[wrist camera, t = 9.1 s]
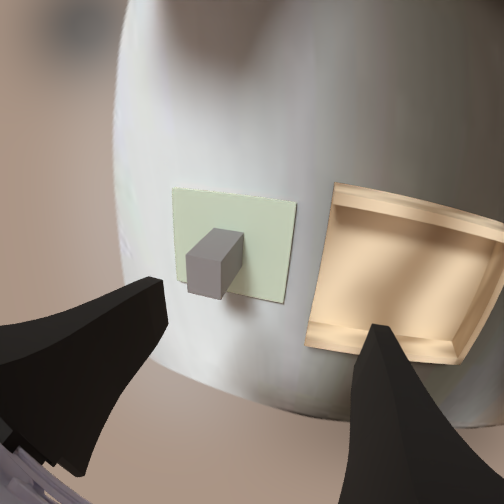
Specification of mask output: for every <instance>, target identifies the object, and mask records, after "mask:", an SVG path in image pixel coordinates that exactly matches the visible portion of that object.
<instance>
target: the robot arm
mask: <svg viewBox="0 0 504 504" xmlns="http://www.w3.org/2000/svg"><path fill="white" fill-rule="evenodd" d="M168 324H169V323H168V316H167V309H166V302H165V294H164V286H163V280H161V279H157V278H153V277H146V278H143V279H140V280H138V281H135V282H133V283H130V284H128V285H126V286H124V287H122V288H119V289H117V290H115V291H113V292H110V293H108V294H106V295H103V296H101V297H99V298H97V299H94V300H92V301H89V302H87V303H84V304H82V305H79V306H77V307H74V308H72V309H69V310H66V311H64V312H61V313H57V314H54V315H51V316H48V317H44V318H40V319H36V320H31V321H27V322H22V323H17V324H10V325H2V326H0V504H58V503H57V502H55V501H54V500H52V499H51V498H49V497H47V496H46V495H45V494H44V490H45V491H46V492H48V493H49V494H50V495H51V496H52V497H54V498H55V499H56V500H57V501H58V502H60V503H61V504H92V503H90V502H89V501H88V500H86V499H85V498H83V497H82V496H80V495H79V494H77V493H76V492H74V491H73V490H72V489H70V488H69V487H68V486H66V485H65V484H64V483H62V482H61V481H60V480H59V479H57V478H56V477H55V476H53V475H52V474H51V473H50V472H49V471H48V470H46V469H45V468H44V467H43V466H42V465H43V463H44V462H45V461H46V462H48V463H49V464H50V465H51V466H52V467H54V466H55V465H56V464H57V463H58V464H59V465H60V466H62V467H63V468H64V469H66V470H67V471H69V472H70V473H71V474H72V475H74V476H75V477H82V476H85V473H86V470H87V467H88V463H89V461H90V458H91V455H92V452H93V450H94V447H95V445H96V442H97V440H98V437H99V435H100V433H101V431H102V429H103V427H104V425H105V423H106V421H107V419H108V417H109V415H110V413H111V410H112V409H113V407H114V406H115V404H116V402H117V400H118V398H119V396H120V395H121V394H122V392H123V390H124V389H125V388H126V386H127V385H128V383H129V382H130V381H131V379H132V378H133V377H134V375H135V374H136V373H137V371H138V370H139V369H140V367H141V366H142V365H143V363H144V362H145V361H146V359H147V358H148V357H149V355H150V354H151V353H152V351H153V350H154V349H155V347H156V346H157V344H158V342H159V341H160V339H161V337H162V335H163V334H164V332H165V330H166V328H167V326H168ZM338 504H504V478H502V477H501V476H500V475H499V474H497V473H496V472H495V471H494V470H493V469H492V468H490V467H489V466H488V465H487V464H486V463H485V462H484V461H483V460H482V459H481V458H480V457H479V456H478V455H477V454H476V453H475V452H474V451H473V450H472V449H471V448H470V447H469V445H468V444H467V443H466V442H465V441H464V440H463V439H462V437H461V436H460V435H459V434H458V433H457V432H456V430H455V429H454V428H453V427H452V425H451V424H450V423H449V421H448V420H447V419H446V417H445V416H444V415H443V413H442V412H441V411H440V409H439V408H438V406H437V405H436V404H435V402H434V401H433V399H432V398H431V396H430V394H429V393H428V391H427V390H426V388H425V387H424V385H423V384H422V382H421V380H420V379H419V377H418V375H417V374H416V372H415V370H414V369H413V367H412V365H411V363H410V362H409V360H408V358H407V356H406V355H405V353H404V351H403V349H402V347H401V346H400V344H399V342H398V340H397V339H396V337H395V335H394V333H393V332H392V330H391V328H390V327H389V326H385V325H379V324H373V323H372V324H371V327H370V329H369V332H368V334H367V337H366V339H365V342H364V344H363V347H362V349H361V352H360V354H359V356H358V359H357V361H356V363H355V365H354V372H353V380H352V388H351V415H350V443H349V455H348V463H347V468H346V473H345V478H344V482H343V487H342V491H341V495H340V498H339V502H338Z"/></svg>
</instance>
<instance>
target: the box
mask: <svg viewBox="0 0 504 504" xmlns="http://www.w3.org/2000/svg"><path fill="white" fill-rule="evenodd" d="M503 285H504V223H501V222H498V221H495V220H492V219H489V218H486V217H482V216H479V215H476V214H472V213H469V212H465V211H462V210H458V209H455V208H451V207H447V206H443V205H440V204H436V203H432V202H428V201H424V200H420V199H415V198H411V197H407V196H402V195H398V194H393V193H389V192H384V191H379V190H374V189H369V188H364V187H359V186H353V185H348V184H342V183H337V182H334V189H333V196H332V202H331V209H330V215H329V221H328V227H327V233H326V238H325V244H324V249H323V255H322V260H321V265H320V270H319V275H318V280H317V285H316V290H315V294H314V299H313V304H312V308H311V313H310V317H309V321H308V327H307V332H306V338H305V343H304V346H309V347H315V348H320V349H326V350H332V351H338V352H345V353H351V354H358V355H359V354H360V352H361V349H362V347H363V344H364V342H365V339H366V337H367V334H368V332H369V329H370V327H371V324H372V323H373V324H379V325H385V326H389V327H390V328H391V330H392V332H393V333H394V335H395V337H396V339H397V340H398V342H399V344H400V346H401V347H402V349H403V351H404V353H405V355H406V356H407V358H408V360H409V361H416V362H427V363H439V364H454V365H460V364H461V362H462V361H463V359H464V358H465V356H466V355H467V353H468V351H469V350H470V348H471V347H472V345H473V343H474V342H475V340H476V338H477V336H478V335H479V333H480V331H481V329H482V328H483V326H484V324H485V322H486V320H487V318H488V316H489V314H490V313H491V311H492V309H493V307H494V305H495V302H496V300H497V298H498V296H499V294H500V292H501V290H502V287H503Z"/></svg>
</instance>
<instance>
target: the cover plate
mask: <svg viewBox="0 0 504 504" xmlns="http://www.w3.org/2000/svg"><path fill="white" fill-rule="evenodd" d="M172 205H173V228H174V246H175V261H176V274H177V280H178V281H182V282H186V283H187V289H188V292H189V293H193V294H197V295H201V296H205V297H209V298H214V299H218V300H221V299H222V297H223V296H224V294H225V292H231V293H235V294H240V295H245V296H249V297H254V298H259V299H264V300H269V301H274V302H279V303H283V301H284V295H285V289H286V282H287V275H288V268H289V260H290V253H291V245H292V237H293V230H294V222H295V213H296V205H297V202H291V201H285V200H278V199H271V198H264V197H256V196H249V195H241V194H233V193H224V192H216V191H207V190H197V189H187V188H177V187H174V188H172Z"/></svg>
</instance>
